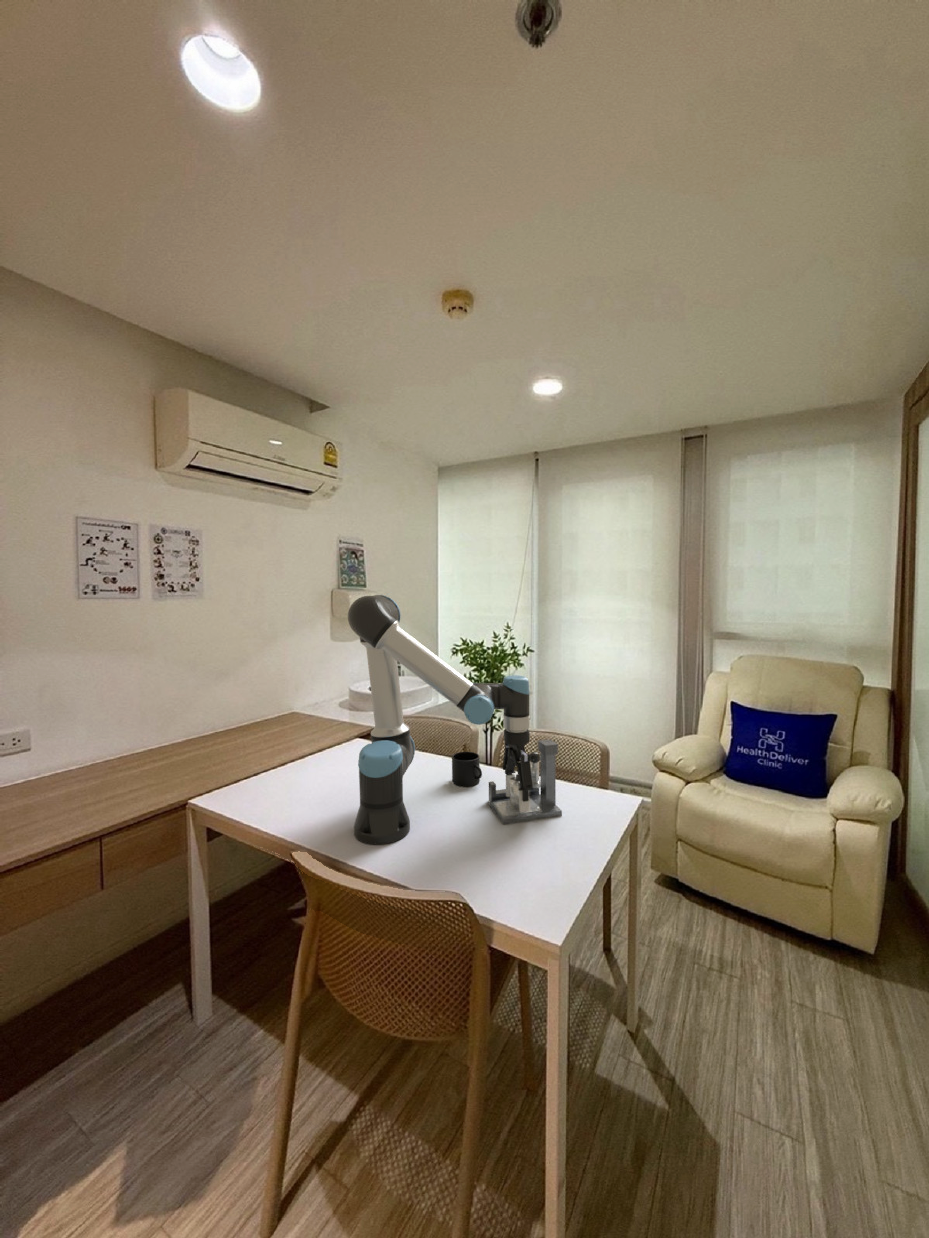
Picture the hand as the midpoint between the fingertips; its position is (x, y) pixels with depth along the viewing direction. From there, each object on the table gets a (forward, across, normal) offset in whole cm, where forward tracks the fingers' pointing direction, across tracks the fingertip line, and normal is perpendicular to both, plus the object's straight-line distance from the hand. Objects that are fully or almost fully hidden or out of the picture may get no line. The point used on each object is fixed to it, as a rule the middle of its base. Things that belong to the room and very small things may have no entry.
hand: (517, 803), depth 142 cm
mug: (+3, +25, +8) cm, 26 cm away
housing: (+1, 0, 0) cm, 1 cm away
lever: (-1, +8, -9) cm, 13 cm away
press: (+3, +1, -2) cm, 4 cm away
